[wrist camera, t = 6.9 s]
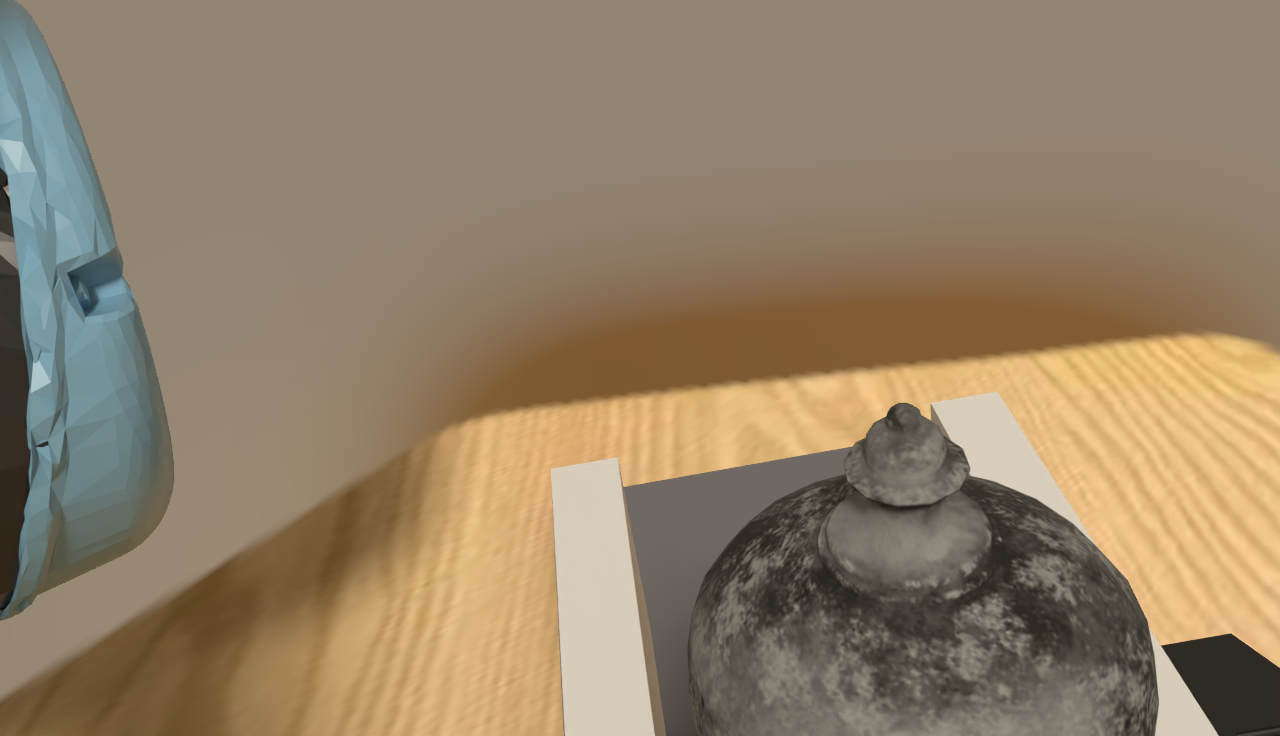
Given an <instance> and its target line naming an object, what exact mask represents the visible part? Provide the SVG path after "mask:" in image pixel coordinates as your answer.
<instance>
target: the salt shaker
mask: <svg viewBox="0 0 1280 736" xmlns="http://www.w3.org/2000/svg"><path fill="white" fill-rule="evenodd" d="M843 464H844V469H845V473H846V474H844V475H840V476H836V477H832V478H829V479H825V480H821V481H817V482H813V483H811V484H809V485H807V486H805V487H803V488H801V489H799V490H796V491H794V492H792V493H790V494H788V495H786V496H784V497H782V498H780V499H777V500H776V501H775V502H773V503H772V504H771V505H769V506H768V507H767V508H766V509H764V510H763V511H762V512H761V513H759V514H758V515H757V516H755V517H754V518H753V519H752V520H750V521H749V522H748V523H747V524H746V525H745V526H744V527H743V528H742V529H741V530H740V531H739V532H738V534H737V535H736V536H735V537H734V538H733V539H732V540H731V541H730V542H729V544H728V545H727V546H726V548H725V549H724V550H723V552H722V553H721V554H720V556H719V557H718V558H717V560H716V561H715V562H714V564H713V565H712V566H711V568H710V569H709V571H708V572H707V573H706V575H705V576H704V578H703V581H702V584H701V587H700V591H699V594H698V597H697V600H696V603H695V606H694V609H693V612H692V616H691V624H690V631H689V639H688V646H687V647H688V678H689V693H690V699H691V705H692V710H693V716H694V722H695V728H696V733H697V736H1155V731H1156V724H1157V716H1158V708H1159V696H1158V686H1157V675H1156V665H1155V656H1154V651H1153V646H1152V641H1151V636H1150V631H1149V627H1148V622H1147V619H1146V617H1145V615H1144V613H1143V611H1142V609H1141V607H1140V605H1139V603H1138V601H1137V599H1136V597H1135V595H1134V593H1133V590H1132V588H1131V586H1130V584H1129V582H1128V580H1127V579H1126V578H1125V577H1124V576H1123V575H1122V574H1121V573H1120V571H1119V570H1118V569H1117V568H1116V567H1115V566H1114V565H1113V564H1112V563H1111V562H1110V561H1109V560H1108V558H1107V557H1106V556H1105V555H1104V554H1103V553H1102V552H1101V551H1100V550H1099V549H1098V548H1097V547H1096V545H1095V544H1094V543H1093V542H1092V541H1091V540H1090V539H1088V538H1087V537H1086V536H1085V535H1084V534H1083V533H1082V532H1081V531H1080V530H1079V529H1078V528H1077V527H1076V526H1075V525H1074V524H1073V523H1072V522H1070V521H1069V520H1067V519H1066V518H1064V517H1063V516H1061V515H1060V514H1058V513H1057V512H1055V511H1054V510H1052V509H1051V508H1049V507H1048V506H1046V505H1045V504H1043V503H1042V502H1040V501H1039V500H1037V499H1036V498H1033V497H1031V496H1028V495H1026V494H1023V493H1021V492H1019V491H1016V490H1014V489H1011V488H1009V487H1007V486H1004V485H1002V484H999V483H997V482H995V481H991V480H987V479H982V478H978V477H974V476H969V475H968V474H969V472H970V466H969V463H968V460H967V458H966V455H965V453H964V450H963V448H961V447H960V446H958V445H957V444H955V443H954V442H952V441H951V440H949V439H948V438H946V437H945V436H943V434H942V431H941V429H940V427H939V426H938V425H936V424H935V423H933V422H932V421H930V420H929V419H927V418H925V417H923V416H921V414H920V411H919V409H918V408H916V407H914V406H913V405H911V404H908V403H898V404H896V405H894V406H892V407H891V408H890V409H889V411H888V413H887V416H886V417H884V418H882V419H880V420H878V421H877V422H875V423H874V424H873V425H872V427H871V428H870V430H869V431H868V433H867V434H866V438H864V439H862V440H860V441H857V442H856V443H855V444H854V446H853V447H852V449H851V450H850V452H849V453H848V454H847V456H846V457H845V459H844V460H843Z"/></svg>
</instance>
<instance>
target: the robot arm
mask: <svg viewBox="0 0 1280 736" xmlns="http://www.w3.org/2000/svg"><path fill="white" fill-rule="evenodd" d="M122 271H123V260H122V257H121V253H120V251H119V248H118V245H117V242H116V239H115V234H114V230H113V224H112V219H111V214H110V211H109V207H108V204H107V201H106V198H105V195H104V192H103V189H102V186H101V183H100V180H99V177H98V174H97V171H96V169H95V165H94V162H93V159H92V156H91V154H90V151H89V148H88V145H87V142H86V139H85V137H84V134H83V131H82V128H81V125H80V123H79V120H78V118H77V115H76V113H75V110H74V107H73V105H72V102H71V99H70V97H69V94H68V91H67V89H66V87H65V84H64V81H63V79H62V77H61V74H60V72H59V69H58V67H57V65H56V62H55V60H54V58H53V56H52V54H51V52H50V50H49V48H48V46H47V43H46V41H45V39H44V36H43V35H42V33H41V31H40V29H39V28H38V26H37V25H36V23H35V21H34V20H33V18H32V16H31V15H30V14H29V13H28V11H27V10H26V9H25V8H24V7H23V6H22V5H21V4H19V3H18V2H17V1H15V0H0V621H1V620H4V619H7V618H10V617H13V616H14V615H17V614H19V613H21V612H22V611H23V610H24V609H25V608H27V607H28V606H29V605H31V604H32V602H33V601H34V599H35V597H36V596H37V595H39V594H41V593H43V592H45V591H47V590H49V589H52V588H54V587H56V586H58V585H60V584H62V583H64V582H66V581H69V580H71V579H73V578H75V577H77V576H80V575H82V574H84V573H86V572H88V571H90V570H92V569H95V568H96V567H99V566H101V565H103V564H105V563H107V562H109V561H112V560H114V559H116V558H118V557H120V556H122V555H124V554H126V553H128V552H130V551H131V550H133V549H134V548H136V547H137V546H138V545H140V544H141V543H142V542H143V541H144V540H145V539H146V538H147V537H148V536H149V535H150V534H151V533H152V532H153V531H154V529H156V527H157V526H158V524H159V523H160V521H161V520H162V518H163V516H164V514H165V512H166V509H167V507H168V504H169V502H170V498H171V494H172V490H173V482H174V463H173V453H172V445H171V438H170V432H169V427H168V422H167V416H166V412H165V407H164V403H163V398H162V394H161V390H160V385H159V381H158V377H157V373H156V369H155V365H154V361H153V357H152V353H151V349H150V346H149V342H148V339H147V335H146V332H145V329H144V325H143V322H142V318H141V315H140V312H139V308H138V305H137V303H136V300H135V298H134V295H133V293H132V290H131V288H130V286H129V284H128V283H127V282H126V280H125V279H124V277H123V276H122ZM931 421H932V422H933V423H935V424H936V425H938V426H939V427H940V429H941V431H942V434H943V436H945V437H946V438H948V439H949V440H951V441H952V442H954V443H955V444H957V445H958V446H960V447H961V448H963V450H964V453H965V455H966V458H967V460H968V463H969V466H970V472H969V474H968V475H969V476H974V477H978V478H982V479H987V480H991V481H995V482H997V483H999V484H1002V485H1004V486H1007V487H1009V488H1011V489H1014V490H1016V491H1019V492H1021V493H1023V494H1026V495H1028V496H1031V497H1033V498H1036V499H1037V500H1039V501H1040V502H1042V503H1043V504H1045V505H1046V506H1048V507H1049V508H1051V509H1052V510H1054V511H1055V512H1057V513H1058V514H1060V515H1061V516H1063V517H1064V518H1066V519H1067V520H1069V521H1070V522H1072V523H1073V524H1074V525H1075V526H1076V527H1077V528H1078V529H1079V530H1080V531H1081V532H1082V533H1083V534H1084V535H1085V536H1086V537H1087V538H1088V539H1090V540H1091V541H1092V542H1093V543H1094V541H1093V540H1092V538H1091V536H1090V535H1089V533H1088V532H1087V530H1086V529H1085V527H1084V526H1083V524H1082V522H1081V521H1080V519H1079V518H1078V516H1077V515H1076V513H1075V512H1074V510H1073V508H1072V507H1071V505H1070V504H1069V502H1068V501H1067V499H1066V498H1065V496H1064V495H1063V493H1062V491H1061V490H1060V488H1059V487H1058V485H1057V484H1056V482H1055V481H1054V479H1053V477H1052V476H1051V474H1050V473H1049V471H1048V470H1047V468H1046V467H1045V465H1044V463H1043V462H1042V460H1041V459H1040V457H1039V456H1038V454H1037V453H1036V451H1035V449H1034V448H1033V446H1032V445H1031V443H1030V442H1029V440H1028V439H1027V437H1026V435H1025V434H1024V432H1023V431H1022V429H1021V428H1020V426H1019V425H1018V423H1017V421H1016V420H1015V418H1014V417H1013V415H1012V414H1011V412H1010V411H1009V409H1008V407H1007V406H1006V404H1005V403H1004V401H1003V400H1002V398H1001V397H1000V395H999V393H998V392H992V393H986V394H980V395H974V396H969V397H963V398H957V399H951V400H945V401H940V402H934V403H931ZM551 478H552V498H553V517H554V536H555V555H556V575H557V594H558V613H559V632H560V651H561V671H562V690H563V709H564V728H565V736H666V732H665V725H664V718H663V711H662V704H661V697H660V690H659V683H658V676H657V669H656V662H655V656H654V649H653V642H652V635H651V629H650V624H649V618H648V613H647V608H646V603H645V597H644V592H643V587H642V582H641V577H640V571H639V566H638V561H637V556H636V551H635V545H634V540H633V535H632V530H631V524H630V519H629V514H628V509H627V504H626V498H625V493H624V488H623V483H622V477H621V472H620V467H619V462H618V457H617V458H611V459H606V460H600V461H594V462H588V463H583V464H577V465H571V466H565V467H559V468H554V469H551ZM1094 544H1095V543H1094ZM1095 545H1096V544H1095ZM1096 547H1097V546H1096ZM1097 548H1098V547H1097ZM1149 631H1150V636H1151V641H1152V646H1153V651H1154V656H1155V665H1156V675H1157V686H1158V696H1159V708H1158V716H1157V724H1156V731H1155V736H1280V668H1279V667H1278V666H1276V665H1275V664H1273V663H1272V662H1270V661H1269V660H1268V659H1266V658H1265V657H1263V656H1262V655H1261V654H1259V653H1258V652H1256V651H1255V650H1254V649H1252V648H1251V647H1249V646H1248V645H1247V644H1245V643H1244V642H1242V641H1241V640H1239V639H1238V638H1237V637H1235V636H1234V635H1232V634H1225V635H1220V636H1214V637H1208V638H1202V639H1197V640H1191V641H1185V642H1179V643H1174V644H1168V645H1162V646H1161V645H1160V644H1159V642H1158V641H1157V639H1156V637H1155V636H1154V634H1153V633H1152V631H1151V630H1150V628H1149Z"/></svg>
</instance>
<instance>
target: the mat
mask: <svg viewBox="0 0 1280 736" xmlns="http://www.w3.org/2000/svg"><path fill="white" fill-rule="evenodd" d="M851 449H852V447H848V448H842V449H837V450H831V451H825V452H820V453H814V454H808V455H803V456H797V457H791V458H786V459H780V460H775V461H769V462H763V463H758V464H752V465H746V466H741V467H735V468H729V469H724V470H718V471H712V472H707V473H701V474H696V475H690V476H684V477H679V478H673V479H667V480H662V481H656V482H650V483H645V484H639V485H633V486H628V487H623V488H624V493H625V498H626V504H627V509H628V514H629V519H630V524H631V530H632V535H633V540H634V545H635V551H636V556H637V561H638V566H639V571H640V577H641V582H642V587H643V592H644V597H645V603H646V608H647V613H648V618H649V624H650V629H651V635H652V642H653V649H654V656H655V662H656V669H657V676H658V683H659V690H660V697H661V704H662V711H663V718H664V725H665V732H666V736H697V733H696V728H695V722H694V716H693V710H692V705H691V699H690V693H689V678H688V647H687V646H688V639H689V631H690V624H691V616H692V612H693V609H694V606H695V603H696V600H697V597H698V594H699V591H700V587H701V584H702V581H703V578H704V576H705V575H706V573H707V572H708V571H709V569H710V568H711V566H712V565H713V564H714V562H715V561H716V560H717V558H718V557H719V556H720V554H721V553H722V552H723V550H724V549H725V548H726V546H727V545H728V544H729V542H730V541H731V540H732V539H733V538H734V537H735V536H736V535H737V534H738V532H739V531H740V530H741V529H742V528H743V527H744V526H745V525H746V524H747V523H748V522H749V521H750V520H752V519H753V518H754V517H755V516H757V515H758V514H759V513H761V512H762V511H763V510H764V509H766V508H767V507H768V506H769V505H771V504H772V503H773V502H775V501H776V500H777V499H780V498H782V497H784V496H786V495H788V494H790V493H792V492H794V491H796V490H799V489H801V488H803V487H805V486H807V485H809V484H811V483H813V482H817V481H821V480H825V479H829V478H832V477H836V476H840V475H844V474H846V473H845V469H844V464H843V460H844V459H845V457H846V456H847V454H848V453H849V452H850V450H851ZM552 501H553V500H552ZM553 521H554V517H553ZM554 541H555V536H554ZM555 562H556V555H555ZM556 582H557V575H556ZM557 602H558V594H557ZM558 623H559V613H558ZM559 643H560V632H559ZM560 663H561V651H560ZM561 684H562V671H561ZM562 704H563V690H562ZM563 724H564V709H563ZM564 736H565V728H564Z"/></svg>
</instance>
